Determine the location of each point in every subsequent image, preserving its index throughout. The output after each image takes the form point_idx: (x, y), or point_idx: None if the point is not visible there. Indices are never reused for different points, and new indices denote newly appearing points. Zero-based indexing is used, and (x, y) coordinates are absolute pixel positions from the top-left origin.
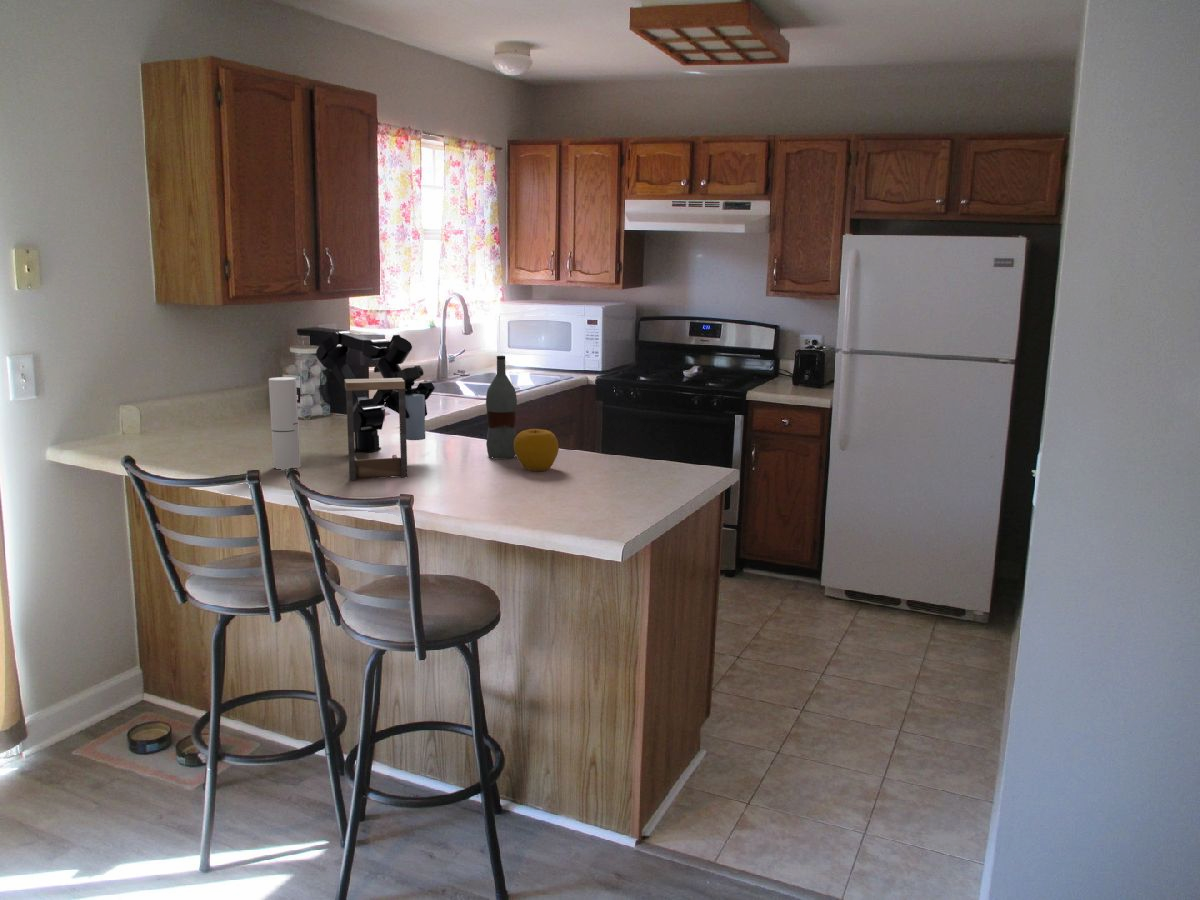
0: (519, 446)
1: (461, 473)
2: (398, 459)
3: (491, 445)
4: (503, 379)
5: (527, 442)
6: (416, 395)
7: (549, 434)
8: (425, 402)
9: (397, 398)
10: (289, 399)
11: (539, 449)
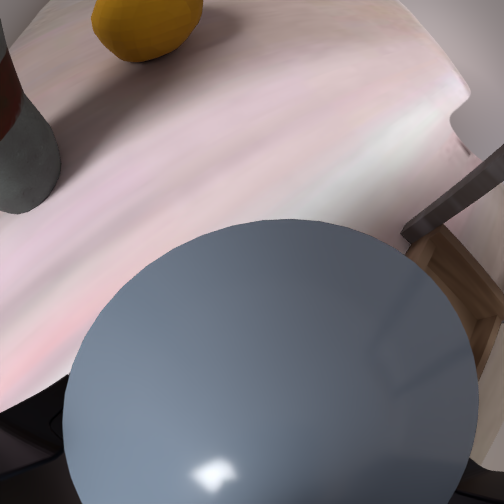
0: (200, 4)
1: (281, 134)
2: (445, 229)
3: (47, 154)
4: None
5: None
6: (277, 407)
7: None
8: (59, 381)
9: (491, 478)
10: None
11: None
